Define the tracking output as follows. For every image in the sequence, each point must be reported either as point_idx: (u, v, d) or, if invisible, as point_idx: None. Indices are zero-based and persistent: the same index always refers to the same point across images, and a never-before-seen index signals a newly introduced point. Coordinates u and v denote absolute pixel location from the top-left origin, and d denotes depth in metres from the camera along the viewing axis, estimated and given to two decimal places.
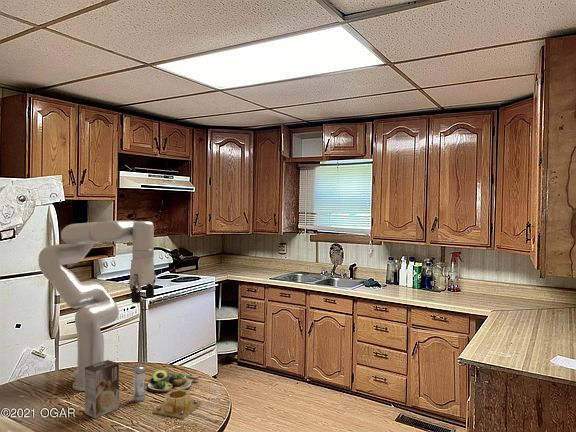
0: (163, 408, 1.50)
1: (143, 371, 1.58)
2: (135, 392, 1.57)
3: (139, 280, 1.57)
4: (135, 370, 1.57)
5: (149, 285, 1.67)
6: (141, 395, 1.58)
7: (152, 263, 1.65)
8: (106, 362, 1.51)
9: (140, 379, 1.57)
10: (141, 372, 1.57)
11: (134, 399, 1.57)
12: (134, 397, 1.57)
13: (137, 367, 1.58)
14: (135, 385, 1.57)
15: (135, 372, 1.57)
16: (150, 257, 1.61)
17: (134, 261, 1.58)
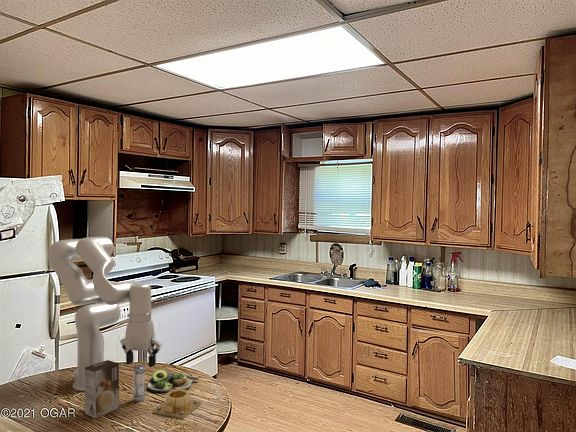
0: (163, 408, 1.50)
1: (143, 371, 1.58)
2: (135, 392, 1.57)
3: None
4: (135, 370, 1.57)
5: (129, 350, 1.60)
6: (141, 395, 1.58)
7: None
8: (106, 362, 1.51)
9: (140, 379, 1.57)
10: (141, 372, 1.57)
11: (134, 399, 1.57)
12: (134, 397, 1.57)
13: (137, 367, 1.58)
14: (135, 385, 1.57)
15: (135, 372, 1.57)
16: None
17: (149, 325, 1.56)
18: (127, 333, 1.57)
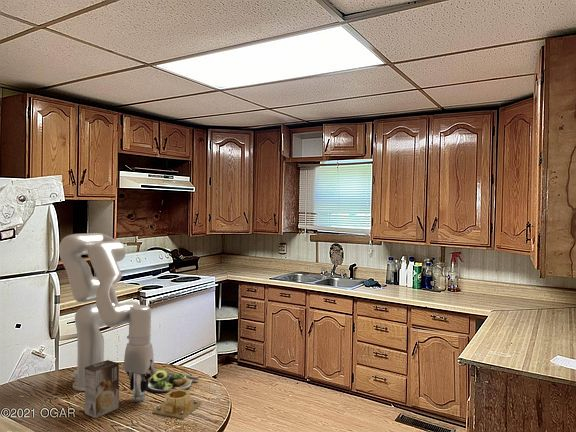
0: (163, 408, 1.50)
1: None
2: (135, 392, 1.57)
3: None
4: None
5: (133, 375, 1.60)
6: (141, 395, 1.58)
7: None
8: (106, 362, 1.51)
9: (140, 379, 1.57)
10: None
11: (134, 399, 1.57)
12: (134, 397, 1.57)
13: None
14: (135, 385, 1.57)
15: None
16: None
17: (148, 347, 1.57)
18: (126, 355, 1.58)
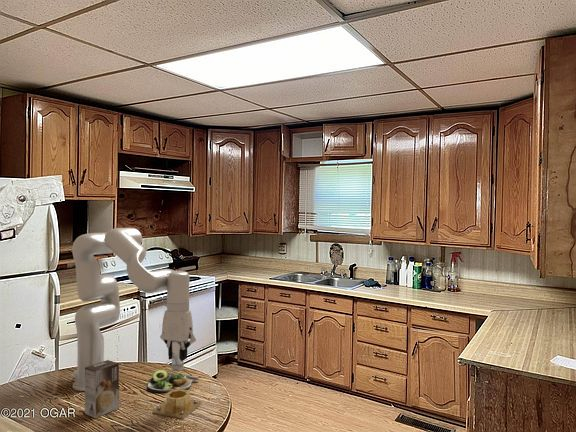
0: (163, 408, 1.50)
1: None
2: (174, 361, 1.51)
3: None
4: None
5: (171, 344, 1.53)
6: (180, 364, 1.51)
7: None
8: (106, 362, 1.51)
9: (179, 348, 1.51)
10: None
11: (173, 368, 1.51)
12: (173, 366, 1.51)
13: None
14: (174, 354, 1.51)
15: None
16: None
17: (188, 314, 1.50)
18: (164, 322, 1.51)
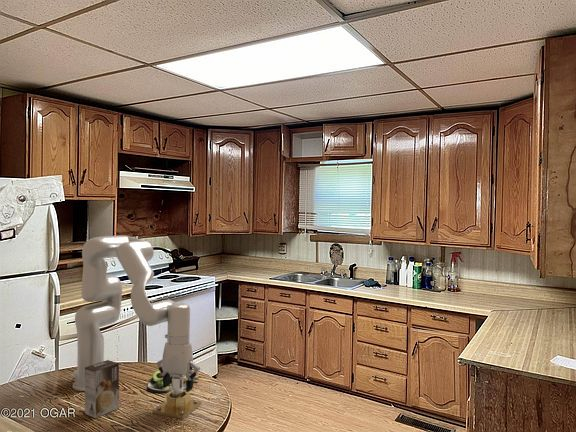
0: (163, 408, 1.50)
1: (182, 376, 1.52)
2: None
3: None
4: (174, 375, 1.51)
5: (166, 373, 1.54)
6: None
7: None
8: (106, 362, 1.51)
9: (178, 385, 1.51)
10: (180, 377, 1.51)
11: None
12: None
13: None
14: (174, 390, 1.51)
15: (174, 377, 1.51)
16: None
17: (188, 347, 1.50)
18: (165, 355, 1.51)
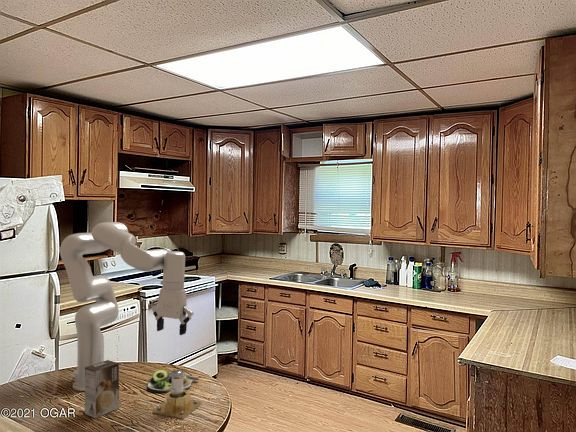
0: (163, 408, 1.50)
1: (182, 376, 1.52)
2: None
3: None
4: (174, 375, 1.51)
5: (160, 317, 1.60)
6: None
7: None
8: (106, 362, 1.51)
9: (178, 385, 1.51)
10: (180, 377, 1.51)
11: None
12: None
13: (175, 372, 1.52)
14: (173, 390, 1.51)
15: (174, 377, 1.51)
16: None
17: (182, 293, 1.56)
18: (159, 300, 1.57)
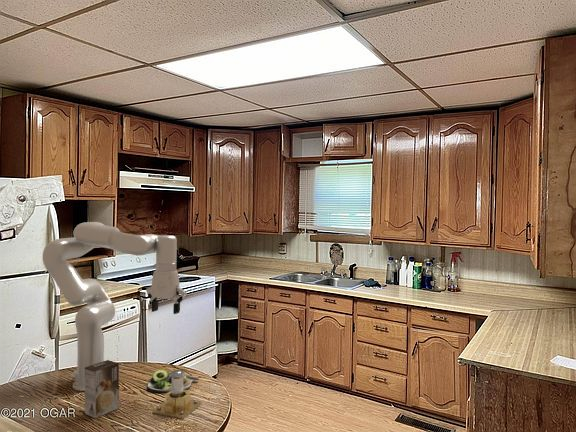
0: (163, 408, 1.50)
1: (182, 376, 1.52)
2: None
3: None
4: (173, 375, 1.51)
5: (154, 299, 1.68)
6: None
7: None
8: (106, 362, 1.51)
9: (178, 385, 1.51)
10: (180, 377, 1.51)
11: None
12: None
13: (175, 372, 1.52)
14: (173, 390, 1.51)
15: (173, 377, 1.51)
16: None
17: (175, 274, 1.64)
18: (153, 281, 1.65)
